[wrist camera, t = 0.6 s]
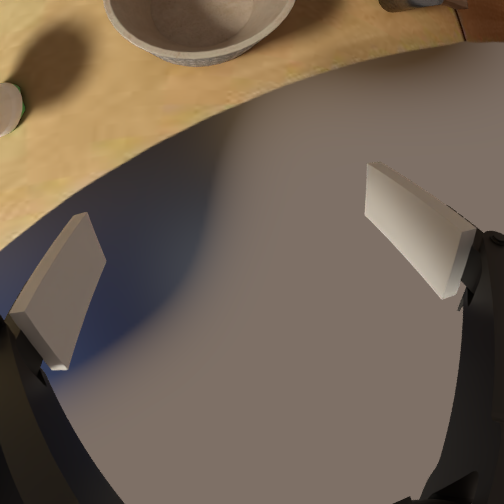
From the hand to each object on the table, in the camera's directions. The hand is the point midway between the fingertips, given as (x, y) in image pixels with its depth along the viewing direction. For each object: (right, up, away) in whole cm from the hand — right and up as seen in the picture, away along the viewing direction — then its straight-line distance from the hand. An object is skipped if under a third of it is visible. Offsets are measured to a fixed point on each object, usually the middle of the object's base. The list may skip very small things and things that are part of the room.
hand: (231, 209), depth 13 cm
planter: (-5, +27, +13) cm, 31 cm away
